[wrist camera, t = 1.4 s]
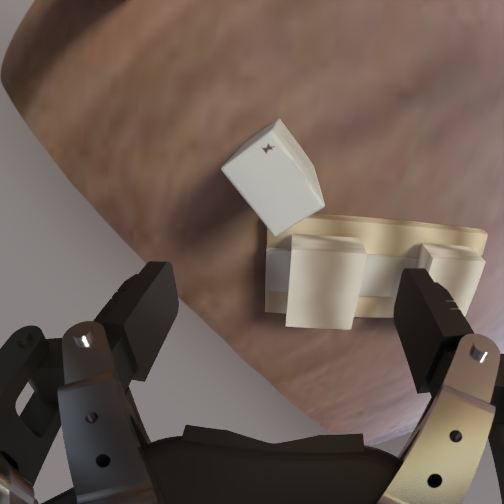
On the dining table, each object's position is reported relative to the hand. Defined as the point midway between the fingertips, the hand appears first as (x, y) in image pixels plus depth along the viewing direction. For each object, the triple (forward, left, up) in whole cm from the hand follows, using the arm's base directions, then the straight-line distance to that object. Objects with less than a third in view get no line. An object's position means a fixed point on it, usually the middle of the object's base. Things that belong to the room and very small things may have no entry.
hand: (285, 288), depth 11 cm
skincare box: (-1, +1, -22) cm, 22 cm away
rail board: (+11, -11, -22) cm, 27 cm away
